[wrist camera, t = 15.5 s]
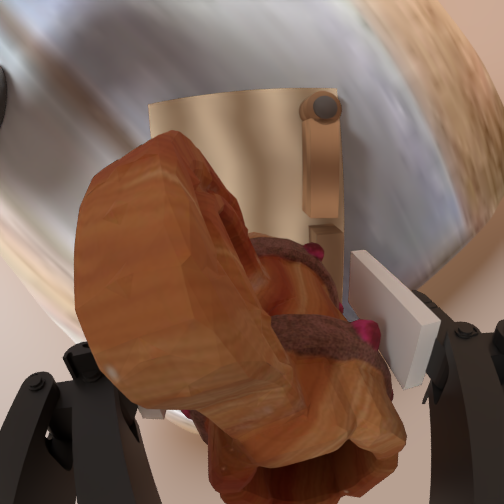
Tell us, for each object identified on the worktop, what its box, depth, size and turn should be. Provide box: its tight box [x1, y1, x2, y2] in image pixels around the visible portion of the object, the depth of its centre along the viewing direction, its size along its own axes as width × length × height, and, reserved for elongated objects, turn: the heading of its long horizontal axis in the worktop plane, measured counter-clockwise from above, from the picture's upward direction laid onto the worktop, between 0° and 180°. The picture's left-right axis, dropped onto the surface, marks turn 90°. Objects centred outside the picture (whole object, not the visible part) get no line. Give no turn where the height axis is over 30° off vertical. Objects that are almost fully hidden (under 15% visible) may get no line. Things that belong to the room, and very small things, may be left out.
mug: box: [74, 130, 407, 504], centre depth 12 cm, size 15×8×15 cm, turn 25°
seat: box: [148, 88, 344, 304], centre depth 27 cm, size 18×24×5 cm
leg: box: [299, 91, 342, 218], centre depth 25 cm, size 11×3×4 cm, turn 2°
